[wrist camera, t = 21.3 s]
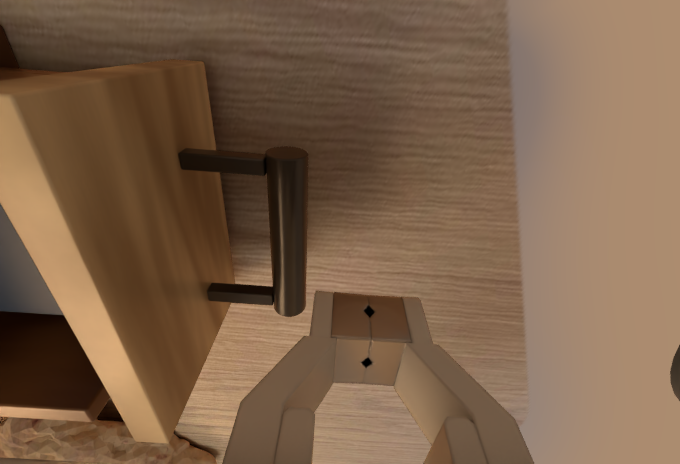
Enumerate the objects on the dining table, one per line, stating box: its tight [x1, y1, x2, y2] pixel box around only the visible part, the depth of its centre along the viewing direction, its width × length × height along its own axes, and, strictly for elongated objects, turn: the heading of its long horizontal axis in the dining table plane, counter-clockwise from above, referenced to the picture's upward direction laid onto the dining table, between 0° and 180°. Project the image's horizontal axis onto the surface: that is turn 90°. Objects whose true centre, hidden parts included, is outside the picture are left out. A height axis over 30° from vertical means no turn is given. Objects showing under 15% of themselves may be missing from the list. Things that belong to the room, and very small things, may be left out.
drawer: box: [0, 59, 308, 443], centre depth 11 cm, size 18×11×8 cm, turn 86°
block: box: [0, 204, 63, 315], centre depth 12 cm, size 4×4×4 cm
